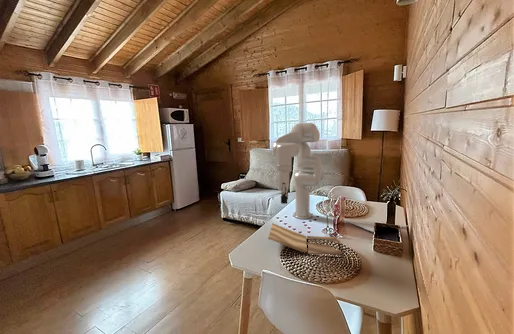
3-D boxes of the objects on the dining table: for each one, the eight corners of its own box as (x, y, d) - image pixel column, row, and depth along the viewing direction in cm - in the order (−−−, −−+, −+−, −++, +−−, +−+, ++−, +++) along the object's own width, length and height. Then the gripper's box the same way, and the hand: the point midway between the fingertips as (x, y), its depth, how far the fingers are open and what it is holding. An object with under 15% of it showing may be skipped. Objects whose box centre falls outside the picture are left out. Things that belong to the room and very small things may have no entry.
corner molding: (337, 219, 164) (372, 233, 136) (337, 217, 164) (373, 230, 136) (369, 216, 175) (409, 228, 147) (370, 213, 175) (409, 225, 147)
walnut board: (306, 238, 135) (306, 235, 134) (336, 239, 132) (336, 237, 131) (307, 255, 117) (308, 252, 117) (342, 257, 114) (342, 254, 114)
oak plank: (271, 225, 136) (272, 223, 135) (305, 238, 134) (306, 236, 133) (268, 238, 120) (269, 236, 120) (305, 253, 118) (307, 251, 118)
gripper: (278, 165, 133) (278, 196, 136) (275, 171, 116) (275, 206, 119) (292, 165, 131) (292, 196, 134) (290, 171, 115) (291, 207, 118)
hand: (284, 201), depth 127 cm, fingers open, 5 cm apart
